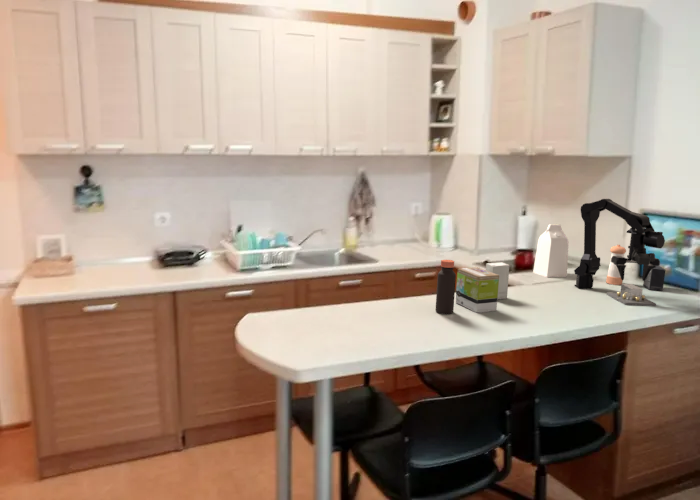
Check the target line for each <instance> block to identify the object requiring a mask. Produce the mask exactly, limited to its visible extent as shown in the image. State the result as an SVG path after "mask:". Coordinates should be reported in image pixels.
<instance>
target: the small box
mask: <svg viewBox="0 0 700 500" xmlns="http://www.w3.org/2000/svg"><path fill="white" fill-rule="evenodd" d="M665 277H666V268H663V267H662V266H661V265H660V266H656V268H653V269H651V271H650V272H649V274H648V276H647V278H646V279H645V281H643V283H642V284H643V286H644V288H646V289H647V290H649V291H659V292H663V290H664V283H665Z"/></svg>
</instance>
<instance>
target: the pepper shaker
mask: <svg viewBox="0 0 700 500" xmlns="http://www.w3.org/2000/svg"><path fill="white" fill-rule="evenodd" d="M609 252H611V254H610V259H611V258H612V257H613V256H622V257H624V255H625V253H626V252H627V250H626V248H625V247H624V246H621V244H617V245H614V246H611V248H610V250H609ZM624 258H625V257H624ZM607 270H608V271H607V275H606V278H605V280H606V283H607V284H609V285H615V286H621V284H624V283H623V282H624V280H621V276H620V273H619V270H618V268H617V266H616V265H615V264H614V263H612V262H611V260H610V262H609V265H608V268H607Z"/></svg>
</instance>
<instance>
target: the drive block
mask: <svg viewBox="0 0 700 500" xmlns="http://www.w3.org/2000/svg"><path fill="white" fill-rule="evenodd" d="M620 286H621V287H620V292H621V296H623V294H624V295H626V299H628V300H636V297H640V299H639V301H641V299H642V295H643V290H644V289H643V288H641V287H639V286H637V285H634V284H632V283H631V284H630V283H622V284H621V285H620Z"/></svg>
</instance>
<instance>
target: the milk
mask: <svg viewBox="0 0 700 500" xmlns="http://www.w3.org/2000/svg"><path fill="white" fill-rule="evenodd" d="M535 251H536V252H535V257H534V264H533V269H532V270H533V271H532V273H533V274H536V275H540V276H541V277H545V278H560V277H563V278H564V277H565V278H566V277H567V276H568V260H569V259H568V257H569V239H568V237H567V236H566V234H565V232H564V231H563V230H562V225H561V224H557V223H556V224H551V223H548V226H547V228H546V230H545V231H543V233H541V234H540V236H539V237H538V239H537V246H536V250H535Z"/></svg>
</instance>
